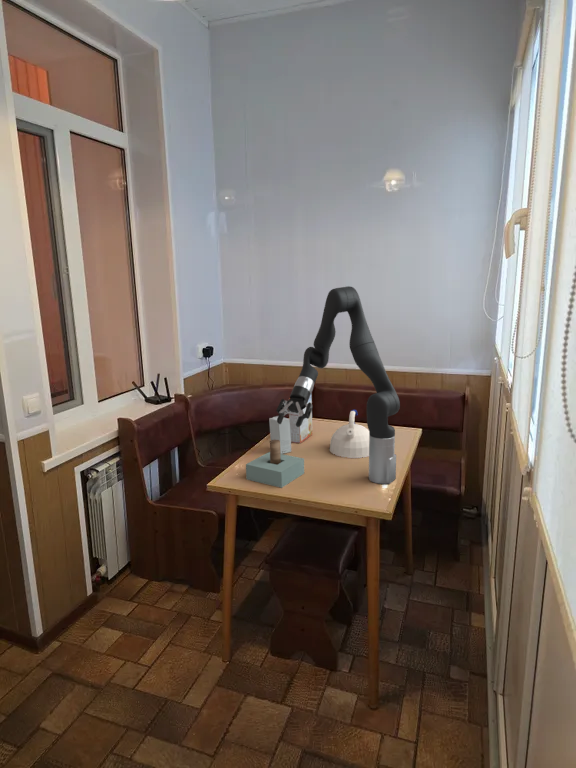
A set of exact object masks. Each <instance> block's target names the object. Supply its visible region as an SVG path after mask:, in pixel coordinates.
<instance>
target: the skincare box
mask: <svg viewBox="0 0 576 768" xmlns="http://www.w3.org/2000/svg"><path fill="white" fill-rule="evenodd" d="M278 416H279V415H276V416H273V417H269V421H268V423H269V433H270V434H269V435H270V440H280V454H284V455H285V454H288V453H291V452H292V442H291V437H290V422H289V417H288V418H287V417H284V418H283V420H282V423H281V424H279V423H278V422H277V418H278Z"/></svg>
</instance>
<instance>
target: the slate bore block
mask: <svg viewBox="0 0 576 768" xmlns="http://www.w3.org/2000/svg"><path fill="white" fill-rule="evenodd" d="M245 474H246V475H245V476H246V478H245V480H248V481H253V482H256V483H259V484H264V485H269V486H271V487H277V488H279V489H282V488H284V487H285V486H287V485H288V484H290V483H291V482H293V481H294V480H297V478H299V477H301V476H302V475H305V458H303V457H297V456H293V455H288V454H285V453H284V454H281V463H279V464H278V465H276V464H271V463H270V451H269V452H266V453H265V454H263V455H260V456H258V457H257V458H255V459H253V460H251V461H250V462H247V463H246V464H245Z"/></svg>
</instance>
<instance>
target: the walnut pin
mask: <svg viewBox="0 0 576 768" xmlns="http://www.w3.org/2000/svg"><path fill="white" fill-rule="evenodd" d="M269 452H270V463H271V464H276V465H278V464H279V463H281V454H280V440H271V439H269Z"/></svg>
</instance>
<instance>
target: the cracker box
mask: <svg viewBox="0 0 576 768" xmlns="http://www.w3.org/2000/svg"><path fill="white" fill-rule="evenodd" d="M312 398H313V397H312V394H311V395H310V397H309V400H308V402H307V404H308V403H309V402H310V403H311V404H312V403H313V401H312ZM289 399H290V397H289V398H288V400H289ZM288 400H287V401H288ZM312 405H313V404H312ZM305 411H306V407H305V408H304V409H303V412H304V414H305ZM298 417H300V414H299V412H298V413H295V412H290V413H288V419H289V422H290V437H291V443H293V444H294V443H295V444H301V443H303V442H305V441H306V440H307V439H308V438H309V437H311V436H312V435H313V410H312V411H311V414H310V417H309V418H308V419H307V418H305V419H304V420H303V422H302V425H301V426H300V427H297V426H296V422H297V420H298Z"/></svg>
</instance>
